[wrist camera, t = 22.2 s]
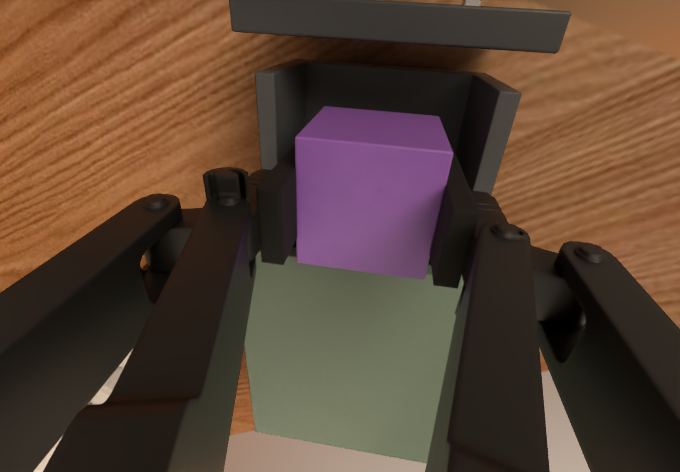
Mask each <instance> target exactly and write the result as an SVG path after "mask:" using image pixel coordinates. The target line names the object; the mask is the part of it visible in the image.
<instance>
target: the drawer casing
mask: <svg viewBox="0 0 680 472" xmlns="http://www.w3.org/2000/svg"><path fill="white" fill-rule="evenodd" d="M256 267H257V268H256V275H255V281H254V287H253V293H252V299H251V305H250V312H249V318H248V324H247V330H246V336H245V342H244V347H245V355H246V363H247V370H248V378H249V386H250V394H251V402H252V410H253V418H254V425H255V432H260V433H265V434H271V435H276V436H281V437H287V438H292V439H298V440H303V441H308V442H314V443H320V444H325V445H330V446H335V447H341V448H346V449H352V450H357V451H362V452H368V453H374V454H379V455H384V456H389V457H396V458H401V459H406V460H412V461H417V462H423V463H427V460H428V455H429V450H430V445H431V440H432V435H433V430H434V425H435V420H436V415H437V409H438V404H439V399H440V394H441V389H442V384H443V379H444V374H445V369H446V364H447V359H448V354H449V349H450V344H451V339H452V334H453V329H454V324H455V319H456V314H455V311H456V307H457V304H458V301H459V298H460V294H461V291H462V288H463V284H464V281H463V277H462V276H461V279H460V282H459V286H458V289H456V288H449V287H442V286H434V285H433V276H432V268H431V265H428V268H427V272H426V276H425V279H424V280H421V279H413V278H406V277H399V276H391V275H384V274H376V273H369V272H362V271H354V270H347V269H339V268H332V267H325V266H317V265H310V264H302V263H298V262H297V253H296V248H295V247H292V249H291V251H290V253H289V255H288V257H287V259H286V261H285V263H284V265H278V264H271V263H264V262H262V260H261V249H260V250H259V252H258V253H257V255H256Z"/></svg>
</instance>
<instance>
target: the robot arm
mask: <svg viewBox="0 0 680 472" xmlns="http://www.w3.org/2000/svg"><path fill="white" fill-rule="evenodd" d="M450 146H451V148H452V151H453V158H452V163H451V167H450V171H449V176H448V180H447V184H446V186H445V191H444V195H443V199H442V204H441V208H440V213H439V217H438V221H437V226H436V230H435V235H434V239H433V243H432V248H431V252H430V260H431V268H432V276H433V285H434V286H442V287H449V288H456V289H458V286H459V282H460V279H461V276H462V277H463V281H464V284H463V288H462V291H461V294H460V298H459V301H458V304H457V307H456V311H455V314H456V319H455V324H454V329H453V334H452V339H451V344H450V349H449V354H448V359H447V364H446V369H445V374H444V379H443V384H442V389H441V394H440V399H439V404H438V409H437V415H436V420H435V425H434V430H433V435H432V440H431V445H430V450H429V455H428V460H427V466H426V470H425V472H549V460H548V448H547V436H546V426H545V425H546V424H545V412H544V400H543V388H542V377H541V364H540V352H539V347H540V349H541V352H542V354H543V357H544V359H545V362H546V364H547V366H548V369H549V371H550V373H551V376H552V379H553V381H554V383H555V386H556V388H557V391H558V393H559V396H560V398H561V401H562V403H563V405H564V408H565V410H566V413H567V415H568V418H569V420H570V423H571V425H572V427H573V430H574V432H575V435H576V437H577V439H578V442H579V445H580V447H581V449H582V452H583V454H584V457H585V459H586V462H587V464H588V467H589V469H590V471H591V472H680V329H679V328H678V327H677V326H676V324H675V323H674V322H673V321H672V320H671V319H670V318H669V317H668V315H667V314H666V313H665V312H664V311H663V310H662V309H661V308H660V307H659V305H658V304H657V303H656V302H655V301H654V300H653V299H652V298H651V296H650V295H649V294H648V293H647V292H646V291H645V290H644V289H643V288H642V286H641V285H640V284H639V283H638V282H637V281H636V280H635V279H634V277H633V276H632V275H631V274H630V273H629V272H628V271H627V270H626V268H625V267H624V266H623V265H622V264H621V263H620V262H619V261H618V260H617V258H615V257H614V256H613V255H612V254H611V253H609V252H607V251H606V250H604V249H602V248H601V247H599V246H597V245H595V246H594V244H591V243H583V242H574V241H570V242H566V243H564V244H563V245H562V247H561V249H560V251H559V253H555V252H551V251H547V250H544V249H540V248H537V247H534V246H532V245H530V237H529V235H528V233H526V232H525V231H524V230H523V229H521V228H519V227H517V226H515V225H512V224H509V223H508V222H507V220H506V218H505V216H504V214H503V212H502V210H501V208H500V207H499V205H498V203H497V201H496V199H495V198H494V197H492V196H491V195H490V194H488V193H487V192H481V191H472V190H470V188H469V185H468V183H467V181H466V178H465V176H464V173H463V171H462V168H461V166H460V164H459V161H458V159H457V156H456V154H455V151H454V149H453V146H452V145H450ZM203 180H204V186H205V192H206V199H207V201H206V203H205V205H204V207H203V208H194V209H181V206H180V201H179V198H177V197H176V196H173V195H168V194H156V195H155V194H151V195H149V196H147V197H143V198H141V199H139V200H137V201H135V202H133V203H132V204H130V205H129V206H127V207H126V208H124V209H123V210H121V211H120V212H119V213H117V214H116V215H114V216H113V217H111V218H110V219H108V220H107V221H105V222H104V223H102V224H101V225H99V226H98V227H96V228H95V229H94V230H92V231H91V232H89V233H88V234H86V235H85V236H83V237H82V238H80V239H79V240H77V241H76V242H74V243H73V244H71V245H70V246H69V247H67V248H66V249H64V250H63V251H61V252H60V253H58V254H57V255H55V256H54V257H52V258H51V259H49V260H48V261H46V262H45V263H44V264H42V265H41V266H39V267H38V268H36V269H35V270H33V271H32V272H30V273H29V274H27V275H26V276H24V277H23V278H21V279H20V280H19V281H17V282H16V283H14V284H13V285H11V286H10V287H8V288H7V289H5V290H4V291H2V292H1V293H0V472H33V471H34V470H35V469H36V468H37V466H38V465H39V464H40V463H41V462H42V460H43V459H44V458H45V457H46V455H47V454H48V453H49V452H50V450H51V449H52V448H53V447H54V445H55V444H56V443H57V442H58V441H59V439H60V438H61V437H62V438H61V440H60V442H59V443H58V445H57V447H56V449H55V450H54V452H53V454H52V456H51V458H50V459H49V461H48V463H47V465H46V467H45V468H44V470H43V472H223V471H224V465H225V459H226V453H227V447H228V441H229V435H230V428H231V422H232V416H233V410H234V404H235V398H236V391H237V385H238V379H239V373H240V367H241V361H242V355H243V348H244V342H245V336H246V330H247V324H248V318H249V312H250V305H251V299H252V293H253V287H254V281H255V275H256V268H257V267H256V255H257V253H258V252H259V250H260V249H261V260H262V262H264V263H271V264H278V265H284V263H285V261H286V259H287V257H288V255H289V253H290V251H291V249H292V247H293V245H294V243H295V240H296V238H297V215H296V169H295V144H294V145H293V147H292V148H291V149H290V150H289V151H288V152H287V153H286V154H285V156H284V157H283V158H282V159H281V160H280V161H279V162H278V163H277V165H276V166H275V167H274V168H273V169H272V170H266V169H260V170H258V171H256V172H253V173H252V174H251V175H250V176H249V177H248V172H246V171H245V170H243V169H239V168H232V167H225V168H217V169H212V170H210V171H207V172H206V173H204V174H203ZM144 254H145V258H146V261H147V264H146V265H145V266H144V267H143V268H141V267H140V261H141V258H142V256H143V255H144ZM132 349H133V350H132ZM131 350H132V352H131ZM130 352H131V354H130V356H129V358H128V360H127V362H126V364H125V366H124V368H123V370H122V372H121V374H120V376H119V378H118V380H117V382H116V384H115V386H114V389H113V391H112V393H111V394H110V396H109V397H108V399H107V400H106V401H105V402H104V403H102V404H95V405H88V404H89V402H90V401H91V400H92V399H93V397H94V396H95V395H96V394H97V392H98V391H99V390H100V389H101V387H102V386H103V385H104V384H105V383H106V381H107V380H108V379H109V378H110V376H111V375H112V374H113V373H114V371H115V370H116V369H117V368H118V367H119V365H120V364H121V363H122V362H123V360H124V359H125V358H126V357H127V355H128V354H129V353H130Z"/></svg>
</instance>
